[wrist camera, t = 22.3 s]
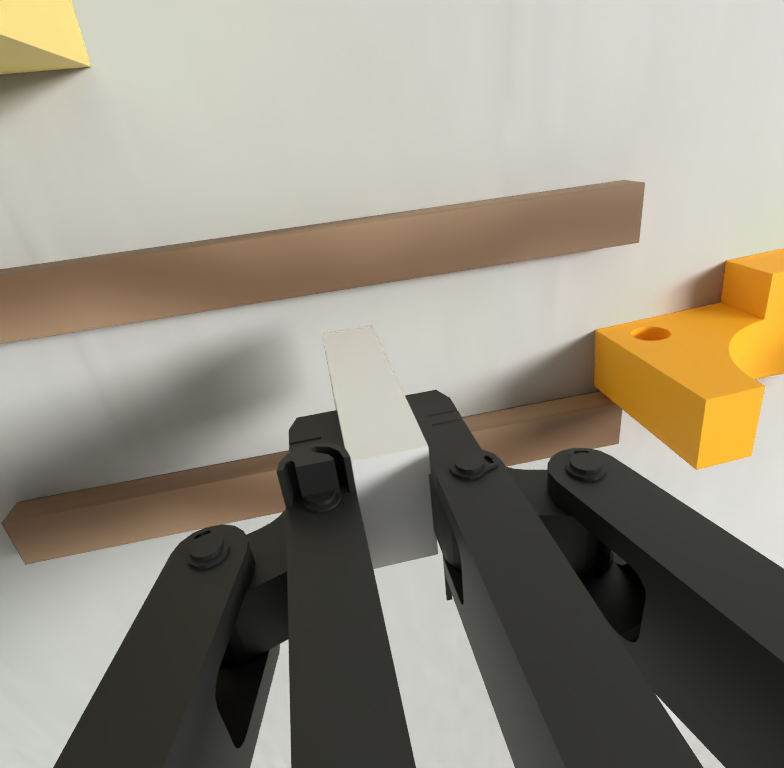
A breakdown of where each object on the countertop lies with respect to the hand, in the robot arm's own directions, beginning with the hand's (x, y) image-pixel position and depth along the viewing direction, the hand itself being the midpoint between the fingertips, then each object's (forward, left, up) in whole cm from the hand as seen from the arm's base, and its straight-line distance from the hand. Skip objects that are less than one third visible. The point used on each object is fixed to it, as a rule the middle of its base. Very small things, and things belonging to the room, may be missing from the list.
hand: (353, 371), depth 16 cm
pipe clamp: (+2, +16, -4) cm, 17 cm away
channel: (+1, -1, -4) cm, 4 cm away
